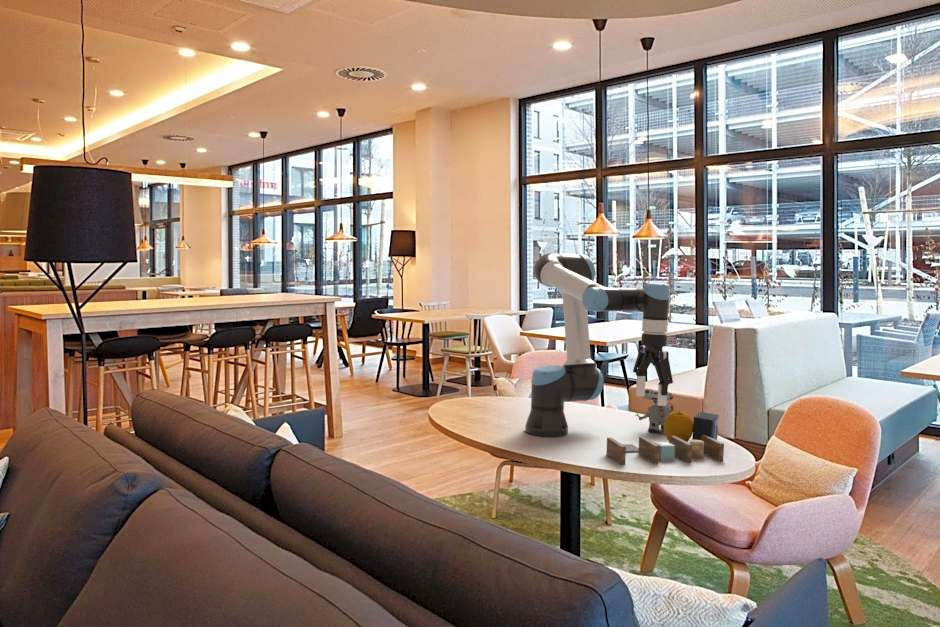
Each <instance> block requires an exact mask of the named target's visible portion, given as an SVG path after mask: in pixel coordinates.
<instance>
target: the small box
mask: <svg viewBox="0 0 940 627" xmlns="http://www.w3.org/2000/svg"><path fill="white" fill-rule="evenodd" d="M692 422H693V433H692V436H691V440H701V435H707V436H709V437H711V438H713V439H715V440H717V441H718V431H719V430H718V429H719V414H716V413H710V412H703V411H700V412H699V413H697V414H696V415H694V416H693V419H692Z"/></svg>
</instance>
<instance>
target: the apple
mask: <svg viewBox="0 0 940 627" xmlns="http://www.w3.org/2000/svg"><path fill="white" fill-rule="evenodd" d="M662 430H663V433H664V435H665V437H666V440H667V442H669V443H670V436H676V437H678V438H680V439H682V440H684V441H686V442H688V443H689V440H691V439H692V436H693V419H692V418H691V416H690V414H689V413H687V412H685V411H680V410H679V411H674V412H671V413H670V414H668V416H667V417H666V419H665V422H664V425H663V429H662Z"/></svg>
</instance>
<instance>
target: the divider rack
mask: <svg viewBox="0 0 940 627" xmlns="http://www.w3.org/2000/svg"><path fill="white" fill-rule="evenodd" d="M701 441H704V453H703V455H706V456H708V457H711V458H712V459H714V460H716V461H718V462H724V451H725V443H724V442H722V441H719V440H718V439H717V440H715V439H713V438H711V437H709V436H707V435H701ZM670 443H671V444H673V445H675V457H676V458H678V459H680V460H682V461H684V462H685V463H692V458H691V456H692V444H690V443H689V441H688V442H686V441H684V440H682V439H680V438H678V437H676V436H670ZM638 448H639V451H638V452H637V453H638V454H639V455H640V456H642V457H644V458H645V459H647V460H648V461H650V462H651V463H652V464H655V463H656V464H659V462H660V459H659V445H657V444H656V443H655V442H654V441H652V440H650V439H648V438H647V437H645V436H638ZM626 455H627V453H626V446H624V445H622V443H621V442H619V441H617V440H616V439H614V438H613V437H606V456H607V457H609V458H610V459H612V461H613V460H614V461H615V462H616V463H618V464H619V465H621V466H622V465H626V457H627V456H626Z"/></svg>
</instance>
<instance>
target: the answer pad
mask: <svg viewBox="0 0 940 627" xmlns="http://www.w3.org/2000/svg"><path fill="white" fill-rule="evenodd" d="M621 444H622V443H621ZM622 445H624V446H626V454H627V453H631V454H632V453H638V451H639V447H638V446H636V445H634V444H633V443H629V444H628V443H627V444H625V443H623V444H622Z"/></svg>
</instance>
